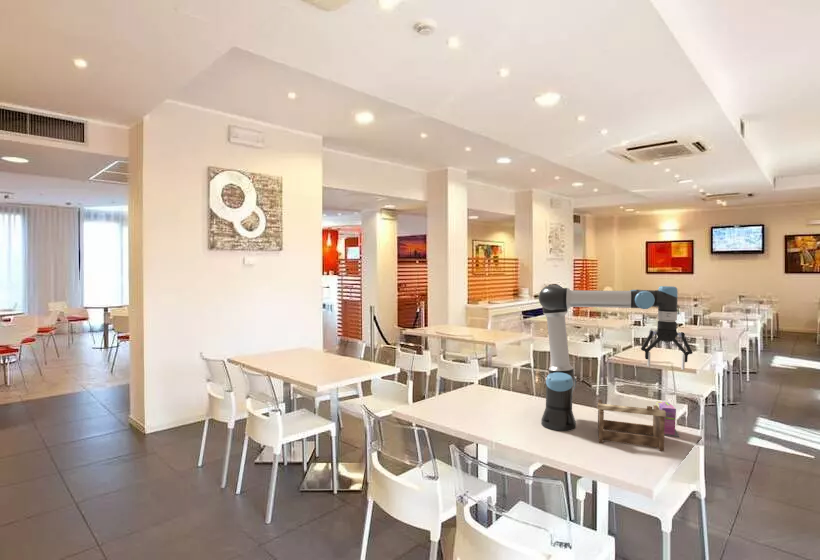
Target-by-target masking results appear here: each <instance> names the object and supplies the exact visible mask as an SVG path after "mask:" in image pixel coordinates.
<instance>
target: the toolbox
mask: <svg viewBox="0 0 820 560" xmlns="http://www.w3.org/2000/svg"><path fill="white" fill-rule="evenodd" d="M598 403H600V404H604V403H603V399H598V401H597V404H598ZM652 409H656V410H659V408H658V406H656V404H654V405H653V406H652ZM604 415H605V410H599V409H598V408H597V436H598V443H599V444H604V441H605V442H613V443H614V442H615V443H621V444H629V445H635V446H643V447H644V446H645V447H650V448H651V447H652V448H658V451H659V452H664V451H665V435H664V428H665V419H664V417H662V416H653V415H652V424H645V423H643V424H642V423H635V422H626V421H617V420H609V419H608V420H607V419H604V418H605V417H604Z"/></svg>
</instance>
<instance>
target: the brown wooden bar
mask: <svg viewBox="0 0 820 560" xmlns="http://www.w3.org/2000/svg"><path fill="white" fill-rule="evenodd" d="M598 409H599V410H604V411H609V412H618V413H619V412H620V413H628V414H637V415H645V416H646V415H648V416H652V417H653V416H662V417H666V412H665V410H656V409H653V406H650V405H647V406H646V407H645V408H644V407H638V406H637V407H636V406H627V405H617V404H609V403H607V404H606V403H603V404H600V403H598V402H597V410H598Z"/></svg>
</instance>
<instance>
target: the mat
mask: <svg viewBox="0 0 820 560" xmlns="http://www.w3.org/2000/svg"><path fill="white" fill-rule="evenodd" d="M665 436H666V437H667V436H668V437H674V438H680V435H679V433H678V431H677V430H676V429H675V435H666V434H664V437H665Z"/></svg>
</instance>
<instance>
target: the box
mask: <svg viewBox="0 0 820 560" xmlns="http://www.w3.org/2000/svg"><path fill="white" fill-rule="evenodd" d="M655 405H656V406H658V408H659V410H665V412H666V417H664V419H665V428H664V434H666V435H675V430H676V420H677V419H676V417H677V409H676V407H674V406H673V405H672V404H671V403H670V402H669V401H668V402H667V401H655Z"/></svg>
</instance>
